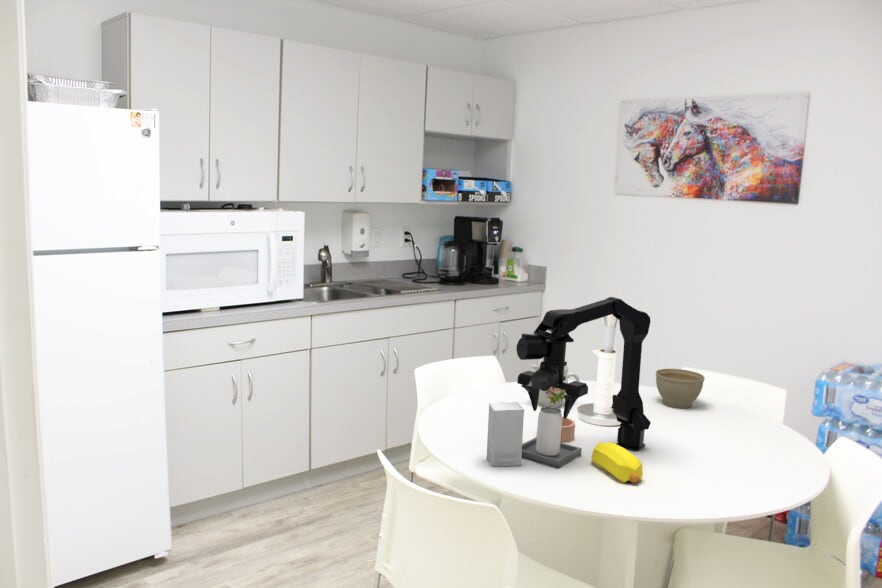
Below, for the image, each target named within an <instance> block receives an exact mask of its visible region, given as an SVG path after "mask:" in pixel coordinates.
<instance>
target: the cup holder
mask: <svg viewBox="0 0 882 588" xmlns="http://www.w3.org/2000/svg"><path fill="white" fill-rule="evenodd" d="M575 429H576V421H575V420H573V419H572V418H570V417H567V418H566V419H564V416H562V430H561V441H560V442H561V443H568V442H567V441H569V442H571V441H573V440H575V431H576V430H575Z"/></svg>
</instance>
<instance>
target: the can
mask: <svg viewBox="0 0 882 588" xmlns="http://www.w3.org/2000/svg"><path fill="white" fill-rule="evenodd" d="M537 417H538V418H537V428H536V437H537V439H536V451H537V453H538V454H540V455H544V456H556V455H558V454H559V452H560V441H561V430H562V417H563V414H562V410H561V409H559V407H556V408H554V407H544V406H542V407H540V411H539V413H538V416H537Z"/></svg>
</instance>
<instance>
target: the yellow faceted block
mask: <svg viewBox="0 0 882 588" xmlns="http://www.w3.org/2000/svg"><path fill="white" fill-rule="evenodd" d="M590 461H592V463H593V464H594V465H595V466H597V467H598V468H600V469H602V470H604V471H606V472H607V473H609V474H610V475H611V476H613V478H615V479H616V480H617V481H618V482H620V483H626V482H628V481H629V482H630V483H631V484H632V483H633V484H635V483H637V482H640V481H642V479H643V475H644V474H643V463H642V462H641V460H640V459H639V458H638V457H637V456H635V455H634V454H633V453H632V452H630V451H628V450H627V448H624V447H621V446H619V445H617V444H616V443H614V442H612V441H607V442H599V443H597V445H596V446H595V447H594V448H593V450H592V453H591V458H590Z"/></svg>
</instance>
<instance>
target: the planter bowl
mask: <svg viewBox="0 0 882 588" xmlns="http://www.w3.org/2000/svg"><path fill="white" fill-rule="evenodd" d="M655 376H656V377H655V383H656V388H657V390H658V394H659V395H660V397H661V398H662V402H663V404H665V405H666V406H668V407H672V408H679V409H685V408H686V409H687V408H691V407H692V405H693V403H694V402H695V401H697V398H698V397H699V395H700V394H701V393H702V390H703V386H704V381H705V376H704V375H703V374H701V373H699V372H697V371H694V370H689V369H682V368H661V369H657V370H656V371H655Z"/></svg>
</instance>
